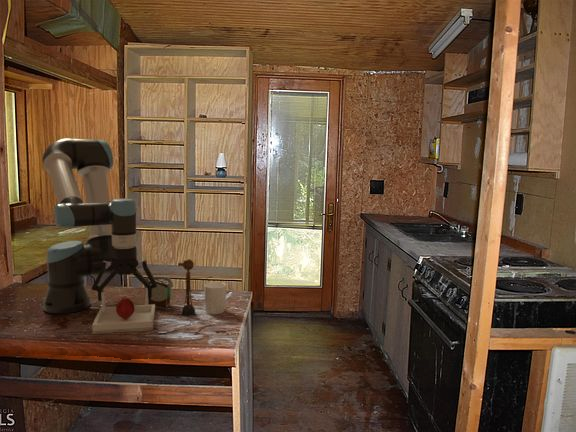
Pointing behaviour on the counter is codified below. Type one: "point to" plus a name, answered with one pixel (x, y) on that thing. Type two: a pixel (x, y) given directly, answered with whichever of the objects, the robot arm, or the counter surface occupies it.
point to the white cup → (215, 297)
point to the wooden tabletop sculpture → (187, 289)
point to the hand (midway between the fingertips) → (125, 309)
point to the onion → (125, 308)
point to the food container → (161, 292)
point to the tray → (114, 323)
